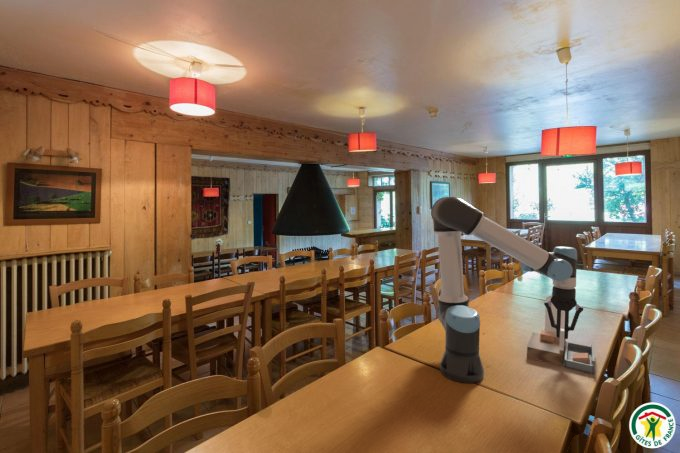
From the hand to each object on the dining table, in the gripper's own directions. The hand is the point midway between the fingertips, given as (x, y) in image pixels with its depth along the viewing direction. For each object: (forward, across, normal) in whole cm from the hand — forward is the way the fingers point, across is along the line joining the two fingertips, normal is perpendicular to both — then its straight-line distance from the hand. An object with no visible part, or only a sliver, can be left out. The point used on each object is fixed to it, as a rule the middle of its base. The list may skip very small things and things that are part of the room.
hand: (561, 345), depth 132 cm
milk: (+6, -3, +23) cm, 24 cm away
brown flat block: (+6, -5, +4) cm, 9 cm away
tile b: (+2, -5, +9) cm, 10 cm away
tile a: (+2, +6, 0) cm, 6 cm away
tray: (+6, +6, +4) cm, 9 cm away
